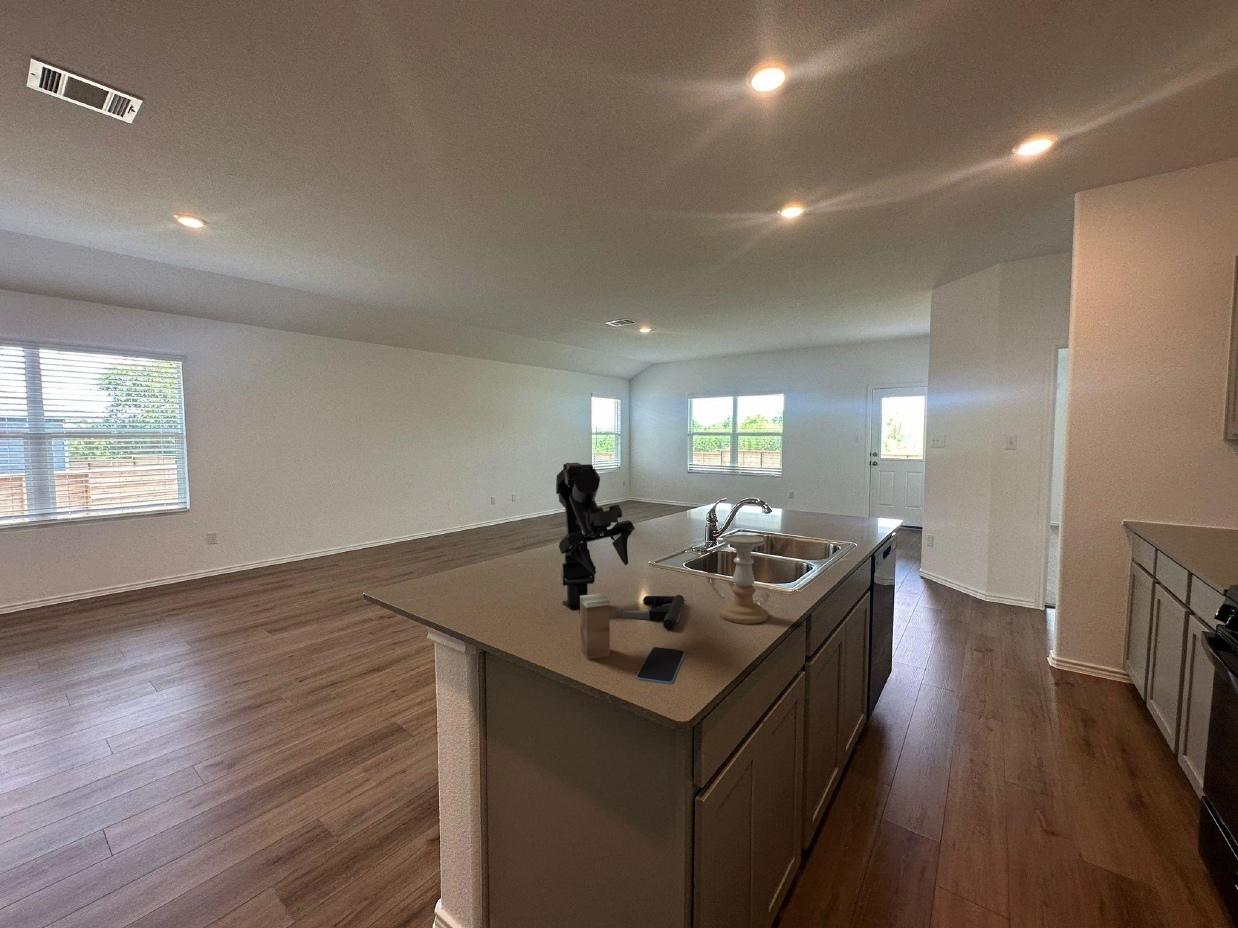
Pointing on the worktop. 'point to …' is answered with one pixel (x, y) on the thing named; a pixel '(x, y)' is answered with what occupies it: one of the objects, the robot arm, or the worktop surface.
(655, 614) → the door handle
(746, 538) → the candle holder
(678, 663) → the smartphone
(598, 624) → the beige wooden block
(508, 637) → the worktop surface
